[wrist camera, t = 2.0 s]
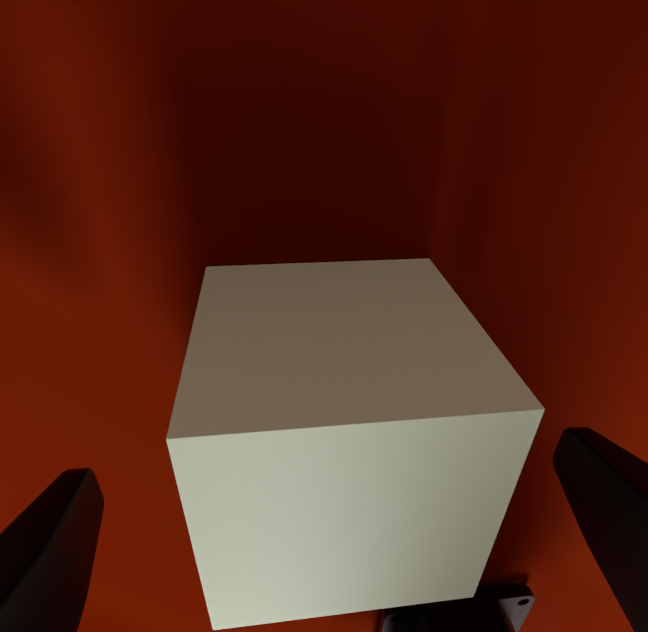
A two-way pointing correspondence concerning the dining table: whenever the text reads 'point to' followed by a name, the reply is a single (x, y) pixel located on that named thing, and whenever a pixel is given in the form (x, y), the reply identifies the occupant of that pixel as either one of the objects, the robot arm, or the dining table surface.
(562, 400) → the dining table surface
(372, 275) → the cube
